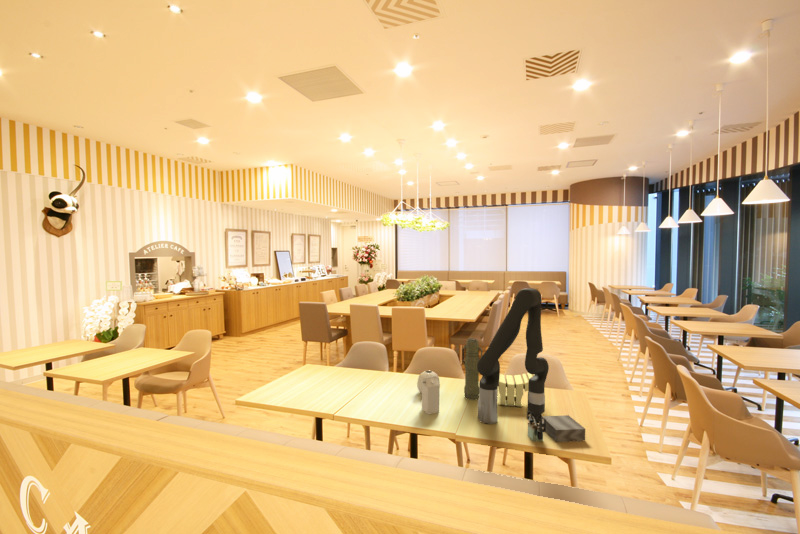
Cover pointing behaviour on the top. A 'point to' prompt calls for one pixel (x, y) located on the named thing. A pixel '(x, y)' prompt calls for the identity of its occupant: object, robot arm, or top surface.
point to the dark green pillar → (471, 369)
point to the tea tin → (533, 432)
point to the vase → (422, 378)
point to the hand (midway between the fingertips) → (535, 434)
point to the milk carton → (430, 395)
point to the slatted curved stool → (512, 389)
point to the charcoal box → (564, 428)
